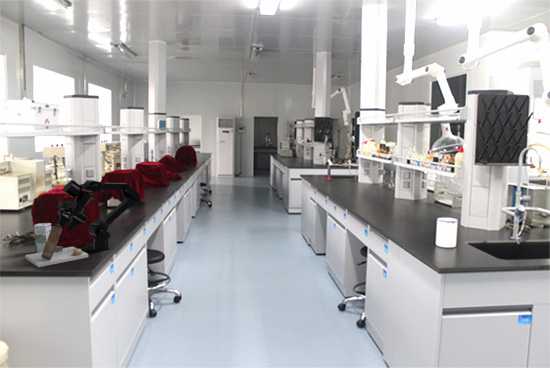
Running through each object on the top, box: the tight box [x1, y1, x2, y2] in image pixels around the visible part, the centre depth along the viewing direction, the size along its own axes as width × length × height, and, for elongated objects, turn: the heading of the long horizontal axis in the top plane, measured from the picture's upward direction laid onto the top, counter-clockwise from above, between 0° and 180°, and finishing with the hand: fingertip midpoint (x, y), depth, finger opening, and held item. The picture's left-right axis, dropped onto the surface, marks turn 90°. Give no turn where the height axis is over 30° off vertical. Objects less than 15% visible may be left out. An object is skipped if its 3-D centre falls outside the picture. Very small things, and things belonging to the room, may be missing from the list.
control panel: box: [24, 246, 89, 268], centre depth 198 cm, size 22×20×2 cm
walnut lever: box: [41, 223, 63, 260], centre depth 192 cm, size 3×6×17 cm, turn 53°
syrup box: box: [33, 222, 52, 253], centre depth 208 cm, size 6×6×14 cm
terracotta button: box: [73, 248, 82, 255], centre depth 198 cm, size 4×4×2 cm
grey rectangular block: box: [54, 245, 64, 251], centre depth 204 cm, size 4×3×2 cm
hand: (62, 230), depth 196 cm, fingers open, 9 cm apart
